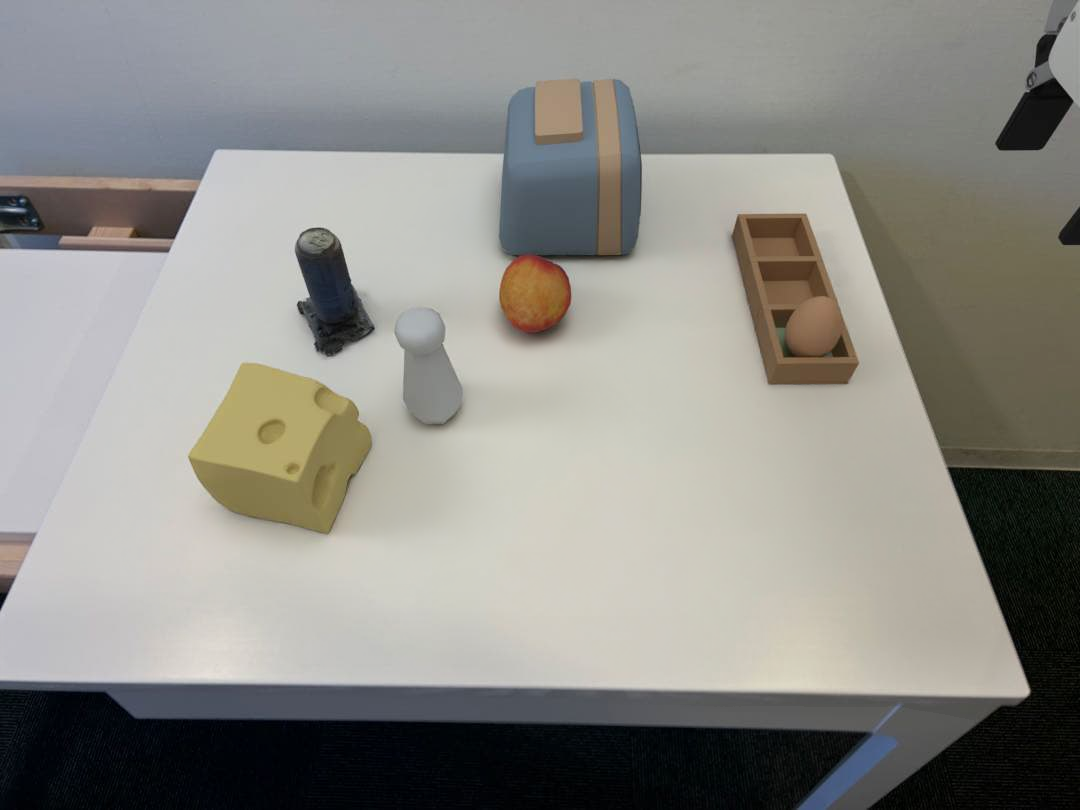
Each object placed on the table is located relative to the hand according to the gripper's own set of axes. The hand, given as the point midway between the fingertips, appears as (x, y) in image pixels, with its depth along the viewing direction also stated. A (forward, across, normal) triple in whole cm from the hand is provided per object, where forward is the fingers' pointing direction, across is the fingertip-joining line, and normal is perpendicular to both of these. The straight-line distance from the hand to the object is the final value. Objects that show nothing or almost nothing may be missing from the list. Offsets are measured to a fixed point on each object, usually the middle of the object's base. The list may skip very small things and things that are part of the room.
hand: (1048, 192), depth 46 cm
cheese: (+28, -5, +56) cm, 63 cm away
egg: (+28, +9, +6) cm, 30 cm away
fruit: (+28, +15, +34) cm, 46 cm away
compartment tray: (+28, +17, +6) cm, 33 cm away
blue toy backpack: (+28, +32, +30) cm, 52 cm away
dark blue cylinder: (+28, +15, +56) cm, 64 cm away
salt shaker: (+28, +3, +44) cm, 52 cm away
